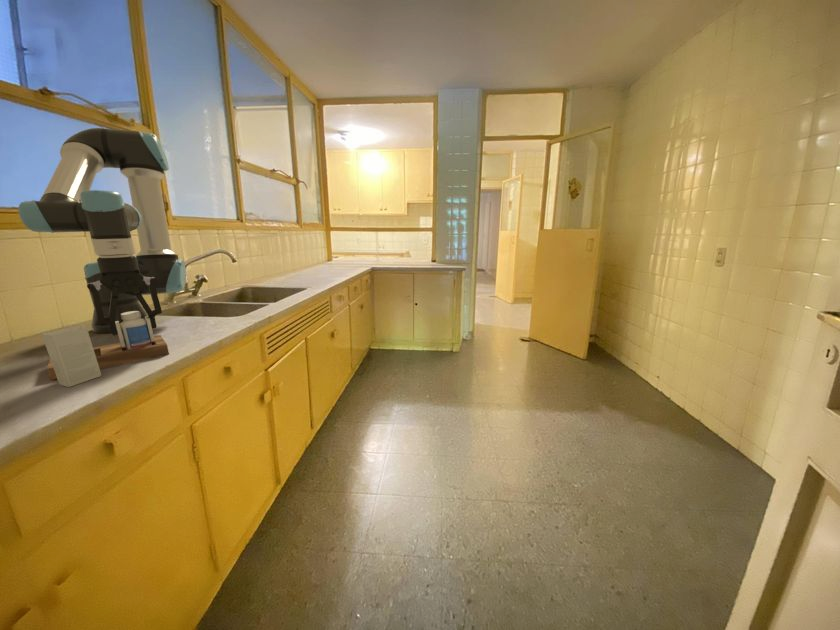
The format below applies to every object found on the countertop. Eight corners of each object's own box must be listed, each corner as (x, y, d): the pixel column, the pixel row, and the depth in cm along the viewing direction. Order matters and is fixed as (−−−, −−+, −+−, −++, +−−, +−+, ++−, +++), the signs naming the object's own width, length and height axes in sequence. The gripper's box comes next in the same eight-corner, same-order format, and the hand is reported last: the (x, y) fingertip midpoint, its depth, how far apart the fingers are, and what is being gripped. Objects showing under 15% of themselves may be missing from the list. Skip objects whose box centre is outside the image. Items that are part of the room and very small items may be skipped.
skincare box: (92, 373, 79) (77, 325, 76) (102, 376, 77) (88, 327, 74) (57, 384, 73) (40, 333, 70) (67, 388, 72) (50, 335, 69)
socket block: (54, 366, 83) (50, 355, 82) (162, 344, 98) (160, 335, 97) (50, 380, 75) (47, 368, 75) (169, 353, 90) (166, 344, 90)
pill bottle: (157, 344, 92) (149, 310, 90) (139, 351, 87) (130, 315, 84) (139, 343, 93) (130, 310, 90) (120, 350, 88) (111, 315, 85)
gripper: (63, 260, 75) (91, 356, 81) (164, 254, 87) (181, 338, 93) (64, 257, 80) (90, 348, 86) (159, 252, 92) (176, 332, 98)
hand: (138, 342), depth 90 cm, fingers closed on pill bottle, 5 cm apart
